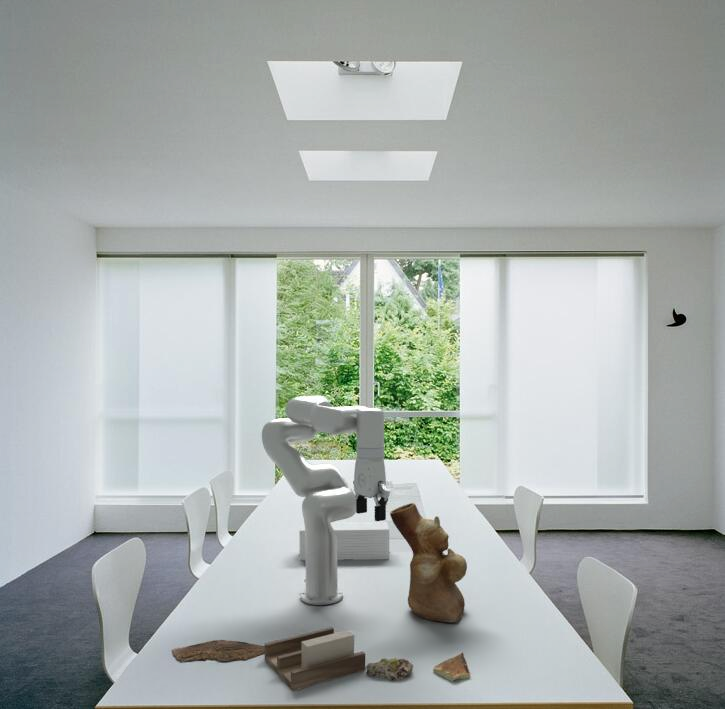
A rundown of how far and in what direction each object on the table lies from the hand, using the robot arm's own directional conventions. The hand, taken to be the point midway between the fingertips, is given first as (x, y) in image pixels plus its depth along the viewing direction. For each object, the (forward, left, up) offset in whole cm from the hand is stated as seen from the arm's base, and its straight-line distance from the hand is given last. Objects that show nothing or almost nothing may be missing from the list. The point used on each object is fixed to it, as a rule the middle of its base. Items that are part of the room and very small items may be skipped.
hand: (370, 516), depth 171 cm
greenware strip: (+18, -22, -27) cm, 39 cm away
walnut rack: (+14, -24, -28) cm, 40 cm away
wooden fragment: (-3, -40, -29) cm, 49 cm away
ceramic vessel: (+3, +17, -28) cm, 33 cm away
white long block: (-55, +22, -29) cm, 66 cm away
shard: (+32, +2, -29) cm, 43 cm away
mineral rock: (+26, -11, -29) cm, 40 cm away
